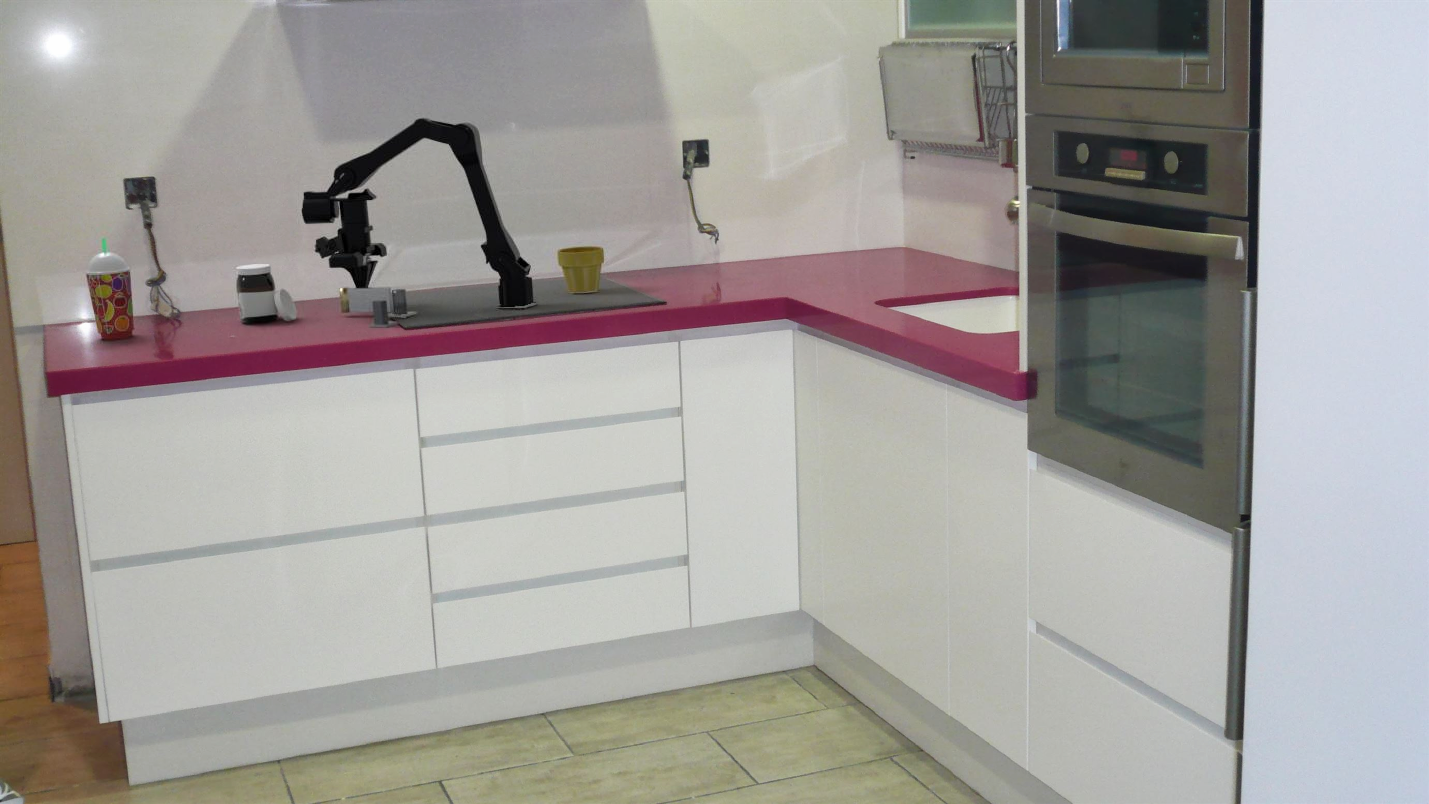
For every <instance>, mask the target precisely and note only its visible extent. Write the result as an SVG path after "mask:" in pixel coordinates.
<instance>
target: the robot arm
mask: <svg viewBox="0 0 1429 804" xmlns="http://www.w3.org/2000/svg"><path fill="white" fill-rule="evenodd" d="M424 139H427V140H431V141H434V142H438V143H441V144H445V145H448V146H449V148H450V149H451V151H452V153H453V155H454V157H455V158H456V159H457V161H458V162H459V164H460V166H461V167H462V168H463V171H464V174H465V176H466V180H467V183H468V185H469V188H470V191H471V194H472V197H473V200H474V204H475V206H476V208H477V211H478V215H479V217H480V219H481V223H482V227H483V229H484V232H485V239H486V241H483V243H482V244H480V248H481V250H482V252H483V254H484V256H485V264H486V265H487V264H489V266H490V268H491V269H492V270H493V271H494V272H496V273H498V275H499V277H500V278H499V281H498V282H499V285H498V286H497V289H498V290H497V291H498V300H499V301H498V304H499V305H497V307H515V306H525V305H528V304H531V303H534V302H535V301H534V300H535V299H534V289H533V288H534V287H533V277H532V276H531V277H530V276H529V275H530V272H531V269H532V265H531V264H530V263H529V262H528V261H526V260H525V259H524V258H523V257H522V256H521V253H520V250H519V249H518V247H517V245H516V243H515V241H514V239H513V237H512V236H511V235H510V232H508V230H507V229H506V227H505V225H504V223H503V222H504V221H503V219H502V216H501V213H500V211H499V207H498V205H497V201H496V199H495V195H494V193H493V190H492V187H491V184H490V181H489V178H488V175H487V172H486V170H485V166H484V163H483V150H482V148H483V147H482V142H481V136H480V132H479V129H478V128H477V127H476V126H475V125H474V124H473V123H470V122H460V123H457V124H453V123H449V122H444V121H437V120H432V119H430V118H427V117H419V118H417V119H415V120H414V121H413V122H412V123H411V124H410V125H408V126H407V127H405V128H404V129H402V130H401V131H399V132H398V133H396V134H395V135H393V136H392V137H390V138H389V139H387V140H385V141H384V142H383V143H381V144H379V146H377V147H375V148H374V149H372V150H371V151H369V152H366V153H365V154H362V155H360V156H357V157H355V158H352V159H350V160H347V161H346V162H343V163H341V164H338V165H337V167H335V169H334V171H333V181H332V183H331V184H330V186H329V187H328V189H327V190H326V191H312V190H306V191H304V192H303V193H302V194H303V200H302V204H301V205H302V206H301V216H302V219H303V222H304V223H305V224H306V225H318V224H322V225H323V224H334V222H335V221H336V219H338V218H339V217H340V223H341V225H340V226H341V227H339V228H338V229H337V233H336V234H337V235H336V236H333V237H332V238H328V237H326V236H322V237H321V236H320V237H318V238H316V239H315V245H314V247H315V249H314V252H315V253H318V254H319V256H320V258H321V259H322V260H323V259H324V258H328V268H330V269H343V270H346V271H347V272H348V273H349V275H350V277H351V279H352V281H353V283H354V286H355V288H369V285H370V282H371V279H372V277H373V274H374V271H375V268H376V266H377V264H378V263H379V260H372V257H373V256H377V257H380V258H384V257H386V256H388V252H387V246H386V245H385V244H384V243H383V242H372V237H371V232H372V231H374V228H373V225H370V218H369V209H368V208H369V207H368V201H374V200H376V199H377V198H378V197H377V195H376V194H374V193H373V192H372V191H371V190H370V189H369V188H368V187H366V188H365V189H364V190H363V191H361V192H351V191H354V190H356V189H359V188H361V187H363V186H364V185H365V184H366V183H367V182H368V181H370V180H371V178H372V177H374V176H375V174H376V173H377V172H378V171H379V170H380V169H381V168H382V167H383V166H385V165H386V164H388V163H389V162H390V161H392V160H394V159H396V157H398V156H400V155H401V154H402V153H404V152H406V151H407V150H409V149H410V148H412V147H413V146H415V145H416V144H418V143H419V142H421V141H423V140H424ZM348 192H349V193H348ZM346 193H348V194H347V197H338V196H341V195H343V194H346Z"/></svg>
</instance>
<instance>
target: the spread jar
mask: <svg viewBox="0 0 1429 804" xmlns="http://www.w3.org/2000/svg"><path fill="white" fill-rule="evenodd" d="M271 272H272V269H271V264H267V263H256V264H254V263H253V264H244V265H239V266H237V267H236V274H237V277H236V283H235V286H236V287H235V288H236V297H237V304H238V305H237V306H238V310H239V311H238V312H239V319H240V321H241V323H242V324H245V325H262V324H267V323H268V324H269V323H273V322H276V321H277V320H278V318H279V315H280V316H281V318H282V319H283V320H284V321H286V322H291V321H294V320H296V319H297V316H298V311H297V307H296V304H295V302H294V299H293V298H292V296H291V295H290V293H289V291H287V290H286V289H284V288H280V289H278V290H276V284H275V279H274V277H273V274H271Z"/></svg>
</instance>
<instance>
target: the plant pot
mask: <svg viewBox="0 0 1429 804" xmlns="http://www.w3.org/2000/svg"><path fill="white" fill-rule="evenodd" d="M604 251H605V250H604V247H601V246H596V245H594V246H592V245H589V246H588V245H586V246H585V245H584V246H575V247H574V246H573V247H566V248H561V249H558V250H557V262H558V266H559V267H561V270H562V272H563V276H564V280H565V283H566V288H567V291H568V293H569V292H588V291H595V290H598V291H599V288H600V281H601V272H602V271H601V270H602V264H603V263H604V262H605V252H604Z"/></svg>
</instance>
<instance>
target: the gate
mask: <svg viewBox="0 0 1429 804" xmlns="http://www.w3.org/2000/svg"><path fill="white" fill-rule="evenodd" d="M338 291H339V292H338V293H339V299H340V300H339V302H340V312H341V313H344V314H345V313H346V314H347V313H373V304H372V302H373V301H377V300H386V301H387V312H388V313H392V312H394V308H393V297H392V289H391V287H390V286H387V287H385V286H384V287H381V286H379V287H378V286H377V287H368V288H356V287H349V286H348V287H340V288H339V289H338Z"/></svg>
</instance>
